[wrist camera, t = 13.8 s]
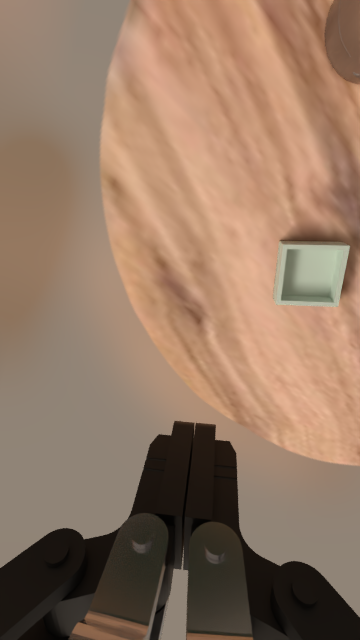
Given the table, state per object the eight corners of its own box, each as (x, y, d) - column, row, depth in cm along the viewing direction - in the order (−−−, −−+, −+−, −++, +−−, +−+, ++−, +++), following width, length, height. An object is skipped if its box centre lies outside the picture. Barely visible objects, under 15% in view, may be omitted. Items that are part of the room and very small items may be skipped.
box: (279, 240, 38) (283, 244, 36) (342, 241, 37) (350, 245, 35) (272, 297, 41) (275, 304, 38) (331, 299, 40) (337, 306, 38)
